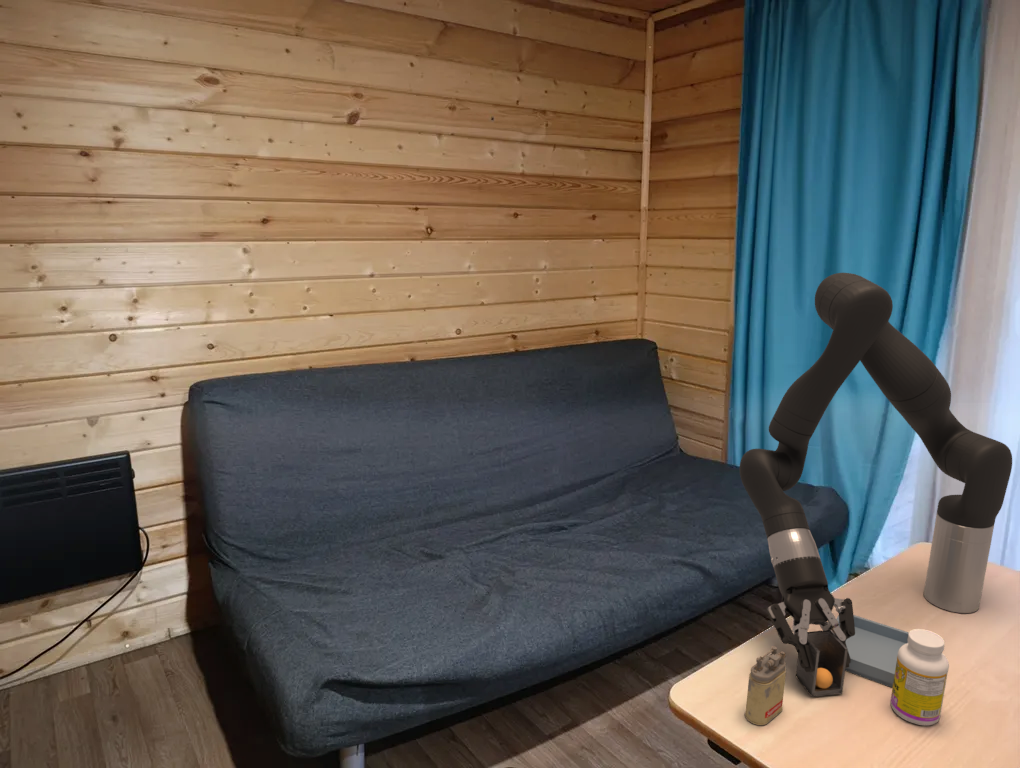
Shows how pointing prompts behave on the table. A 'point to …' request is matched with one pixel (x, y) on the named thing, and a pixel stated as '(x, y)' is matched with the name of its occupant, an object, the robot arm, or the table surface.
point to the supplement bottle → (920, 678)
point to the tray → (874, 650)
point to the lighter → (766, 688)
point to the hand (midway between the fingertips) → (827, 669)
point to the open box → (824, 662)
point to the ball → (823, 678)
